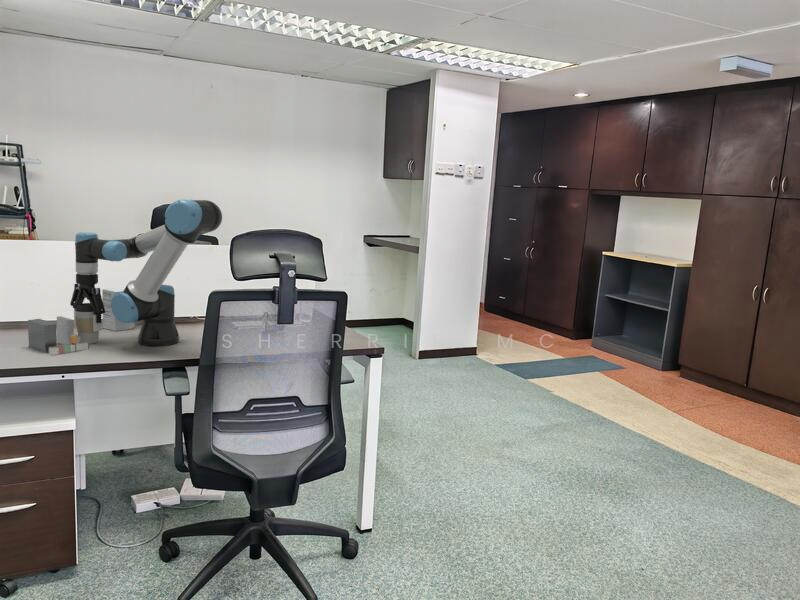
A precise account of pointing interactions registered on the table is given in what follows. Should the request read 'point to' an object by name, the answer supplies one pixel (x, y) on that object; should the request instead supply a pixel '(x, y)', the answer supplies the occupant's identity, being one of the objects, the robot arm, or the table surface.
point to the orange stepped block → (73, 339)
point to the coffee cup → (85, 323)
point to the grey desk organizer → (49, 338)
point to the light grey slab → (65, 330)
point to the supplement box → (108, 317)
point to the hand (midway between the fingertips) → (87, 327)
